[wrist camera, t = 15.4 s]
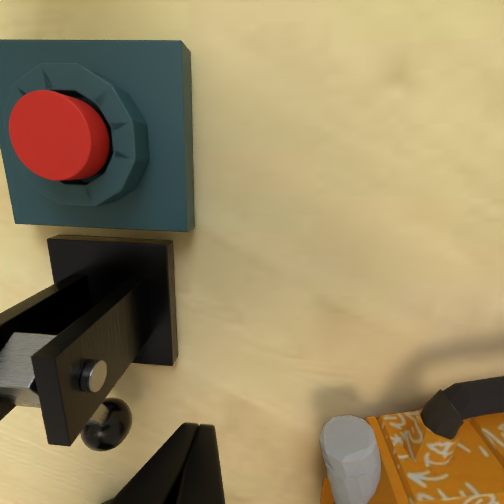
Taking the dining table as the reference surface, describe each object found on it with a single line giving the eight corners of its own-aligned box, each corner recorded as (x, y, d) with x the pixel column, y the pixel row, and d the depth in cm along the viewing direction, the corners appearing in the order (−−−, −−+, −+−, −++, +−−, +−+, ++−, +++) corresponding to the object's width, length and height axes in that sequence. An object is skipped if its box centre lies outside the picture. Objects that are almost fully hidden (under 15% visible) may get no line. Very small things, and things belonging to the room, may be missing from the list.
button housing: (194, 226, 20) (178, 239, 17) (35, 219, 21) (-12, 230, 17) (190, 51, 17) (169, 24, 14) (6, 50, 18) (-57, 24, 15)
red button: (114, 180, 16) (95, 182, 15) (43, 177, 17) (16, 179, 15) (106, 98, 15) (85, 90, 14) (30, 96, 16) (0, 88, 14)
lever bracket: (178, 356, 23) (109, 490, 14) (76, 348, 23) (-58, 472, 14) (173, 240, 20) (84, 306, 11) (58, 234, 21) (-119, 293, 12)
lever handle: (143, 407, 23) (128, 457, 21) (102, 403, 23) (83, 453, 21) (73, 327, 14) (34, 400, 12) (8, 323, 14) (-42, 393, 12)
